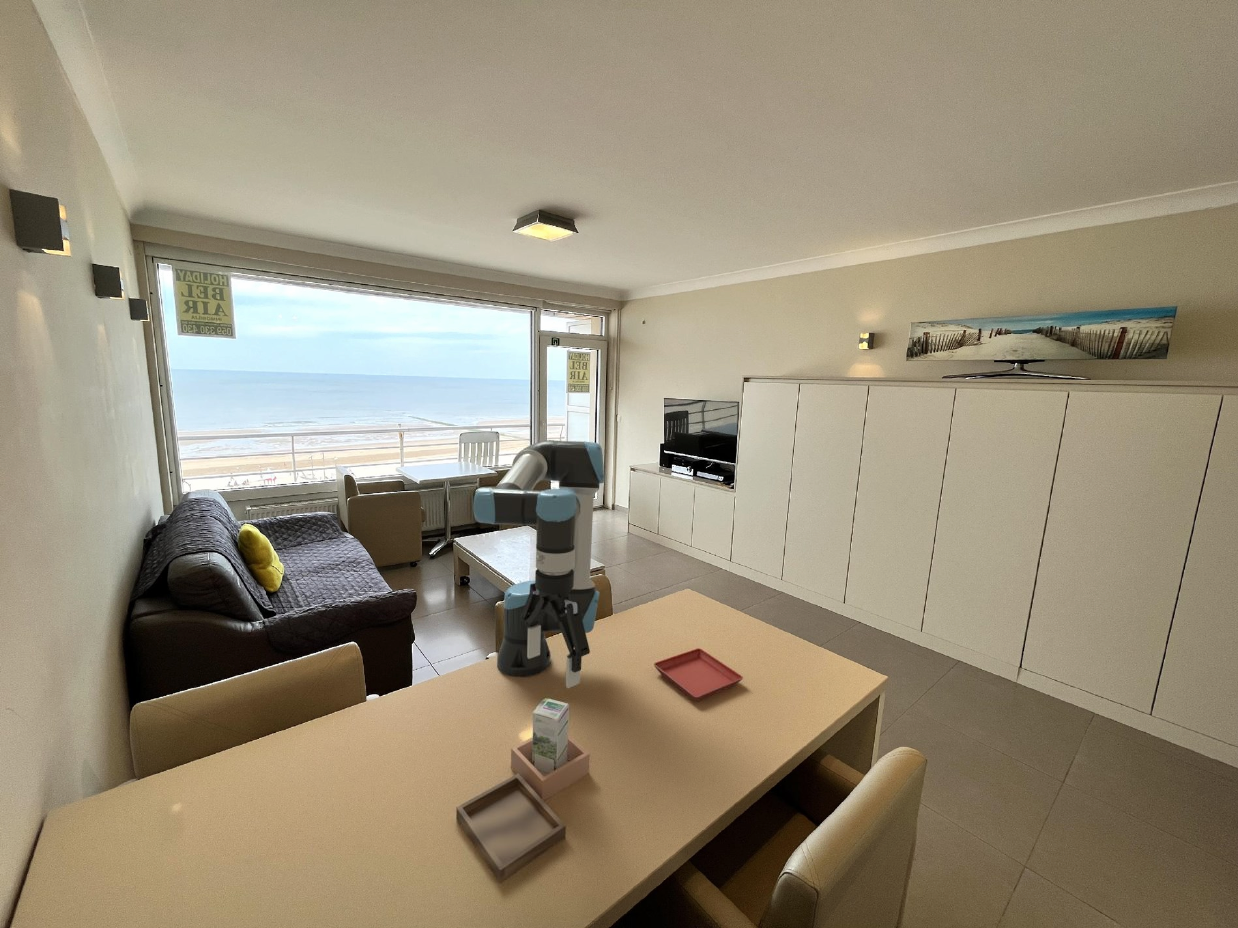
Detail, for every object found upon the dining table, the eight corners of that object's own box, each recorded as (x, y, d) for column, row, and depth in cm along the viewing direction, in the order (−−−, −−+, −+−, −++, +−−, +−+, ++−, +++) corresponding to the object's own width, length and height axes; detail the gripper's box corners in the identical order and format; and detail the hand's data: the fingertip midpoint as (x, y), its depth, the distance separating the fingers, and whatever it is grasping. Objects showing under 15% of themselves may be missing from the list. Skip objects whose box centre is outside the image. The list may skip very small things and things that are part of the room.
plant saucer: (743, 687, 139) (744, 676, 139) (695, 708, 129) (695, 696, 129) (698, 657, 154) (699, 647, 153) (651, 674, 144) (652, 663, 143)
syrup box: (568, 764, 108) (570, 701, 105) (555, 784, 102) (557, 718, 100) (544, 757, 109) (545, 695, 107) (530, 776, 104) (531, 711, 102)
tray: (456, 818, 93) (456, 807, 93) (518, 783, 102) (518, 773, 101) (500, 883, 81) (500, 870, 81) (565, 837, 90) (565, 825, 90)
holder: (510, 767, 106) (511, 747, 105) (556, 743, 114) (556, 724, 113) (542, 801, 98) (542, 780, 97) (588, 773, 105) (589, 753, 105)
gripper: (505, 555, 106) (504, 650, 109) (578, 593, 88) (575, 706, 91) (535, 549, 111) (534, 640, 114) (611, 584, 93) (606, 691, 96)
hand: (552, 669), depth 102 cm, fingers open, 13 cm apart
